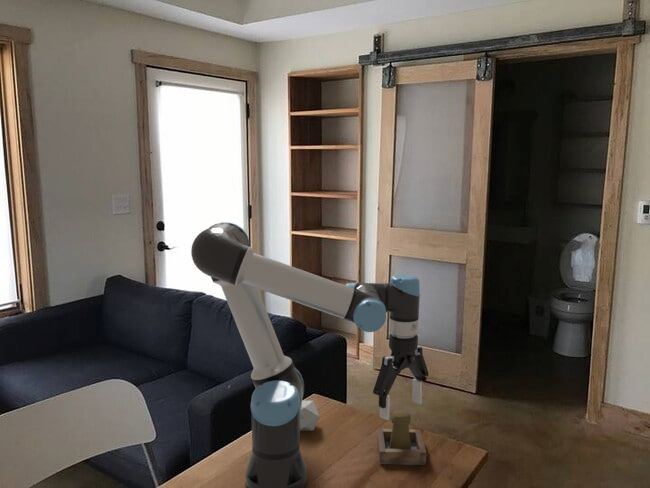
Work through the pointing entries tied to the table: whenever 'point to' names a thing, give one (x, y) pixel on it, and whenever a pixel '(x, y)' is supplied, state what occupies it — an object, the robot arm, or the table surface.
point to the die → (308, 416)
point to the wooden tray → (401, 455)
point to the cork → (400, 430)
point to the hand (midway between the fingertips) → (400, 410)
